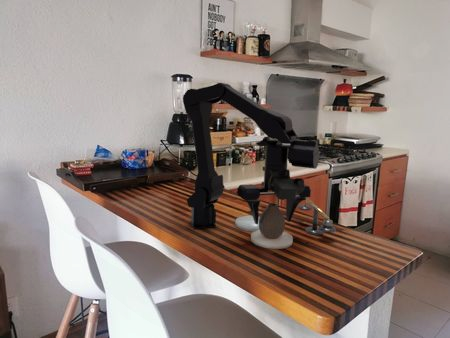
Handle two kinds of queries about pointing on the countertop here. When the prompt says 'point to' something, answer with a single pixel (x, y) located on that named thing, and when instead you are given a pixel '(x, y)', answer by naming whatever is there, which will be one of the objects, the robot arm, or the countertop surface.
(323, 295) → the countertop surface
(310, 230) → the balance
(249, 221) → the white round plate
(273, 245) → the dish low
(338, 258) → the countertop surface
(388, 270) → the countertop surface
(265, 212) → the vase
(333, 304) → the countertop surface
